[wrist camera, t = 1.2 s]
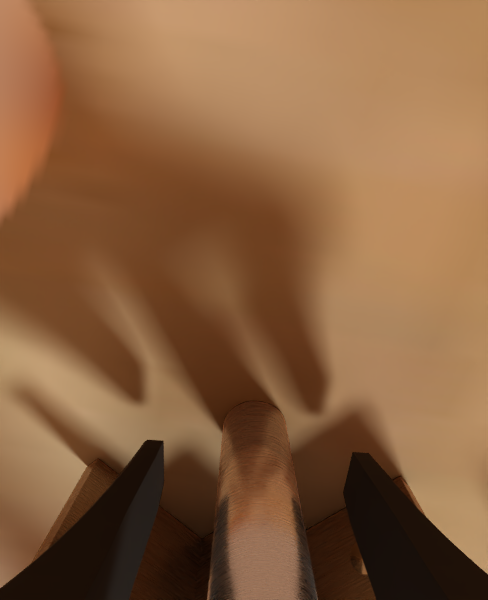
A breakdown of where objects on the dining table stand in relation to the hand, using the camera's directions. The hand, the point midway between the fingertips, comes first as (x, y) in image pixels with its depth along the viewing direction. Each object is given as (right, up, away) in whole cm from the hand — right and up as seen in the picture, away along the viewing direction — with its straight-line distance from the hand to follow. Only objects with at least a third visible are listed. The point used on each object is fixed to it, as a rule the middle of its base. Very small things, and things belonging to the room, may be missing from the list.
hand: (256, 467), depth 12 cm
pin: (0, +1, +2) cm, 2 cm away
